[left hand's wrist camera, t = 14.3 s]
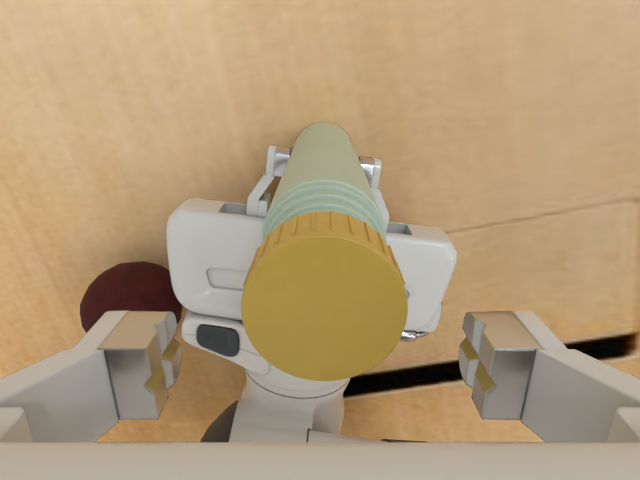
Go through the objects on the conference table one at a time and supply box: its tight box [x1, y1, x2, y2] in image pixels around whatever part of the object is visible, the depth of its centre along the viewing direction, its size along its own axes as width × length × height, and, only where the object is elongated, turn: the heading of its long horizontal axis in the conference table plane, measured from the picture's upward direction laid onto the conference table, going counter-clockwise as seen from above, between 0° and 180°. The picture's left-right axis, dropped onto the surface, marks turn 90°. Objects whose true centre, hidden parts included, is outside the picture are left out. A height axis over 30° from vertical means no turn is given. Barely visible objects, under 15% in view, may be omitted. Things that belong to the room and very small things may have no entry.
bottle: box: [262, 122, 386, 243], centre depth 23 cm, size 5×5×24 cm
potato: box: [80, 262, 182, 333], centre depth 35 cm, size 7×8×7 cm
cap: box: [241, 211, 408, 381], centre depth 12 cm, size 4×4×2 cm
